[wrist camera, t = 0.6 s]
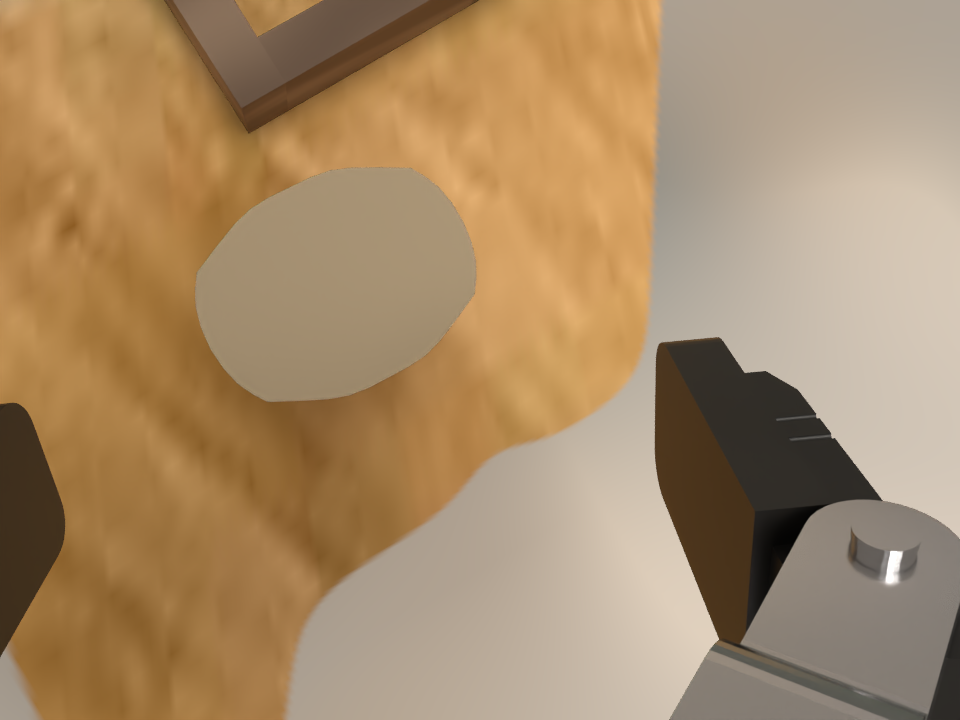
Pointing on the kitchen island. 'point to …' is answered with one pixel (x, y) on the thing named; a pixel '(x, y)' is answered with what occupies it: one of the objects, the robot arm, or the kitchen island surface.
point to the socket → (299, 47)
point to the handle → (335, 283)
